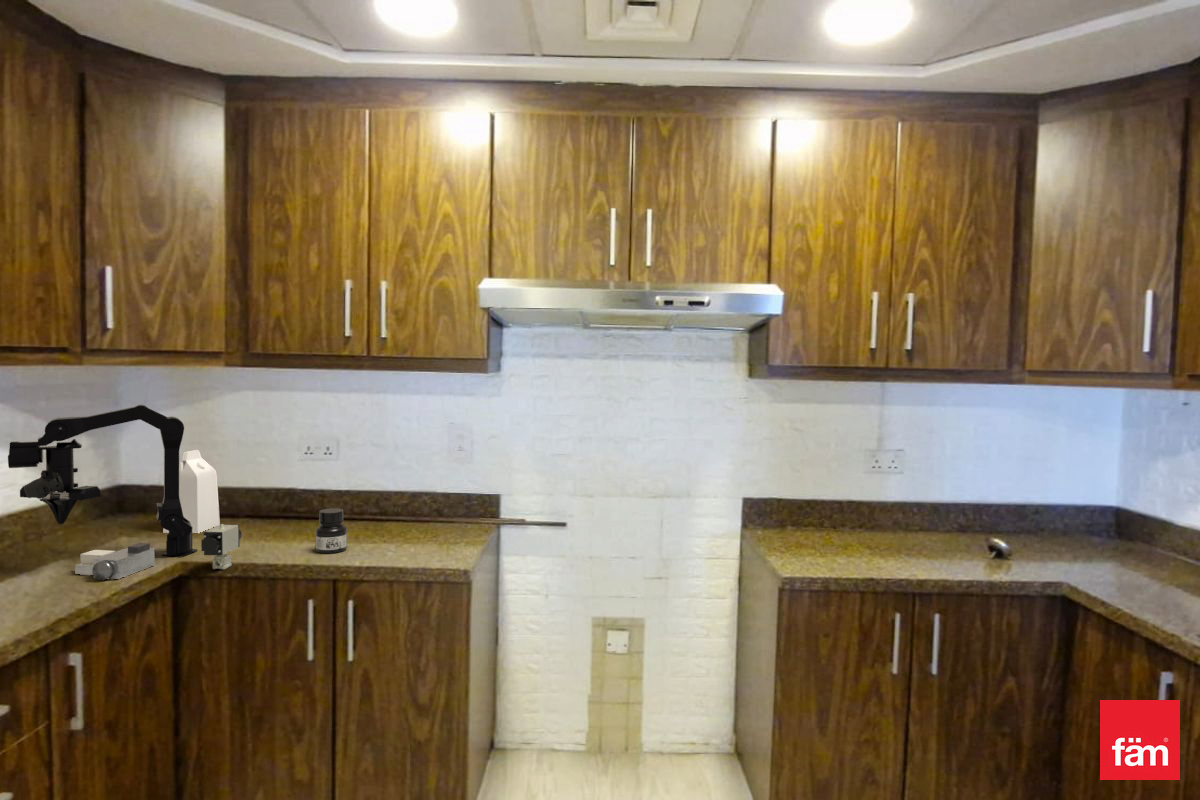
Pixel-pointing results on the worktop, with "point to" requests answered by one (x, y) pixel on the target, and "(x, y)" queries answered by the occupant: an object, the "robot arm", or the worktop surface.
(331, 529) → the ink bottle
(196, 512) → the milk
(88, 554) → the white block
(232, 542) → the pneumatic valve
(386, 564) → the worktop surface
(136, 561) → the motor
